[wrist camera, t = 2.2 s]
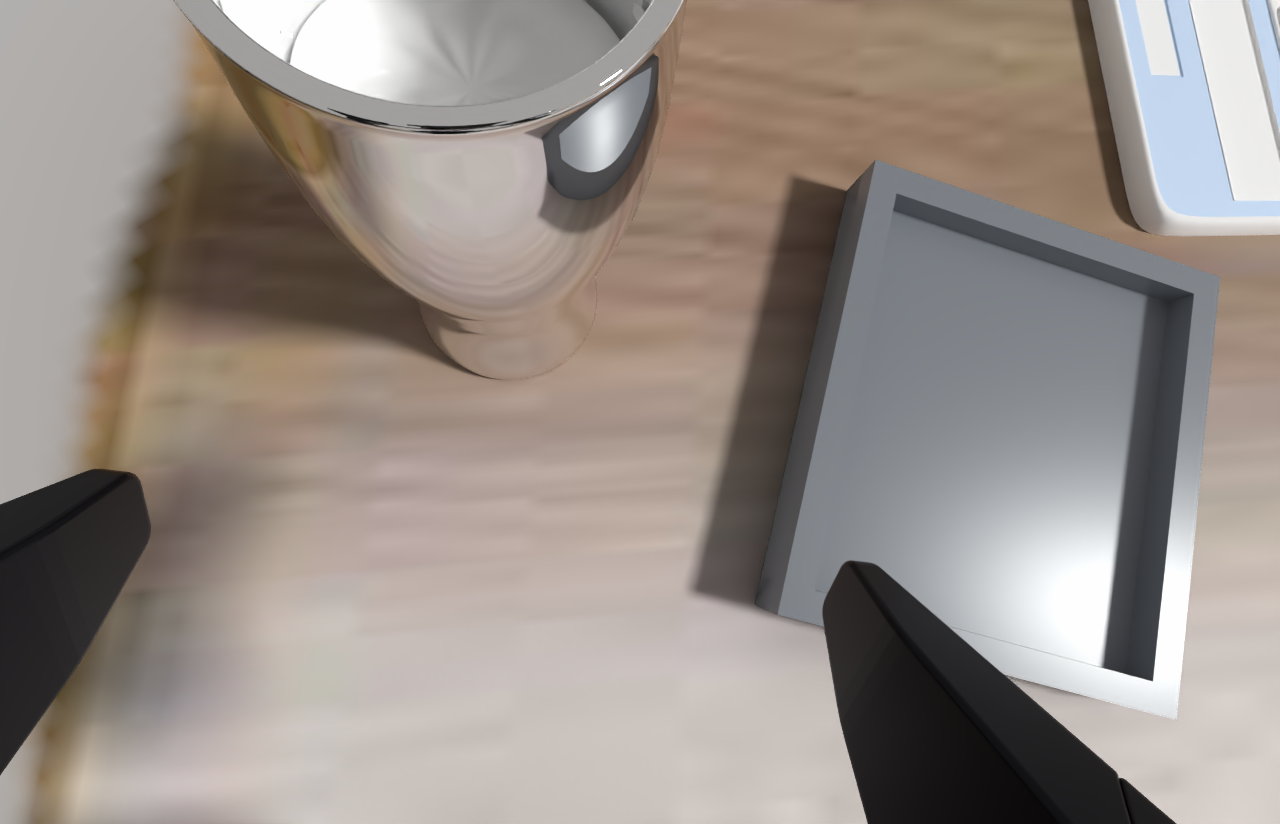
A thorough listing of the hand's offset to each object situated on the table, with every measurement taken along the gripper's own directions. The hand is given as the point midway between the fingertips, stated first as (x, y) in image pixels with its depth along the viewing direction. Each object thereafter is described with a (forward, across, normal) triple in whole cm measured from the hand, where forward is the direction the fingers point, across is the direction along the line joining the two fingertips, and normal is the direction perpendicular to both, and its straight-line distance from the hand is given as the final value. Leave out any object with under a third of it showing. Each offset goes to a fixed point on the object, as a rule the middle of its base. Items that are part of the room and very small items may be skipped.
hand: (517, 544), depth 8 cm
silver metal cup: (+15, +2, +3) cm, 15 cm away
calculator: (+24, -31, -9) cm, 41 cm away
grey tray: (+13, -16, +4) cm, 21 cm away
